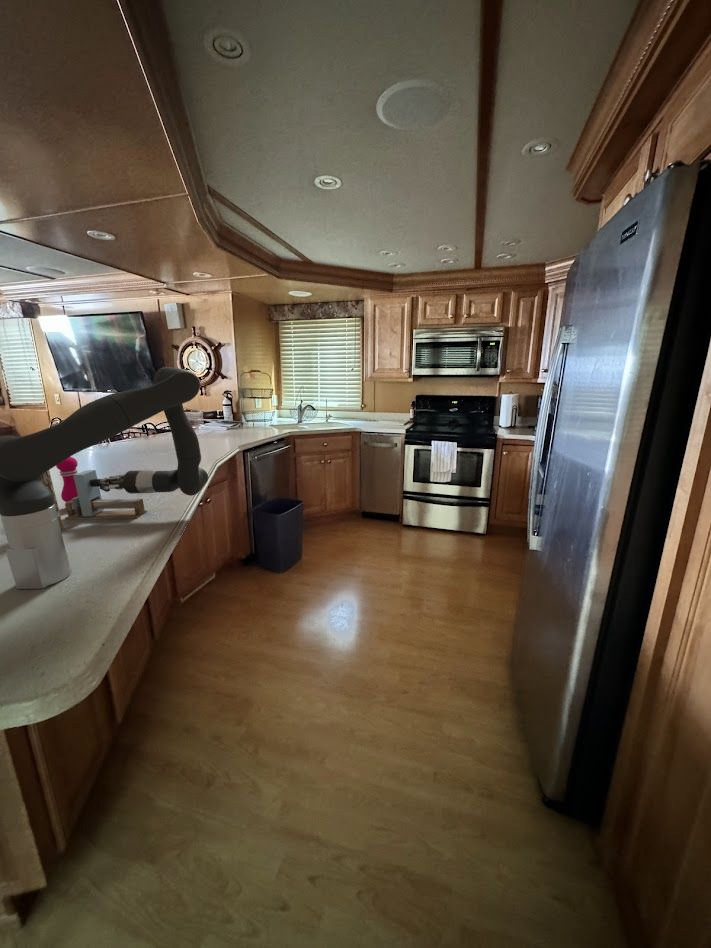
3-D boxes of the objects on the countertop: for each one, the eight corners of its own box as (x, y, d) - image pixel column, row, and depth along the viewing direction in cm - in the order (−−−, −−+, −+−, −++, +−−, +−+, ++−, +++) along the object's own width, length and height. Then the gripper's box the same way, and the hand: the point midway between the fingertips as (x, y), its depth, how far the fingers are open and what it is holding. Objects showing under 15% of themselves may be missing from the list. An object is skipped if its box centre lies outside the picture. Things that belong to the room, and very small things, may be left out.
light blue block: (91, 516, 123) (82, 474, 119) (82, 516, 123) (73, 475, 119) (103, 509, 128) (95, 470, 125) (95, 509, 128) (86, 470, 125)
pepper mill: (67, 505, 136) (54, 451, 131) (90, 502, 139) (79, 449, 134) (61, 511, 130) (48, 455, 125) (86, 508, 133) (74, 453, 128)
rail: (137, 518, 123) (133, 497, 121) (65, 519, 123) (60, 499, 121) (147, 511, 128) (144, 492, 127) (78, 512, 129) (74, 493, 127)
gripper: (152, 465, 128) (102, 466, 128) (129, 476, 115) (74, 477, 115) (156, 486, 130) (106, 487, 130) (134, 499, 117) (79, 500, 117)
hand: (91, 482), depth 123 cm, fingers closed
